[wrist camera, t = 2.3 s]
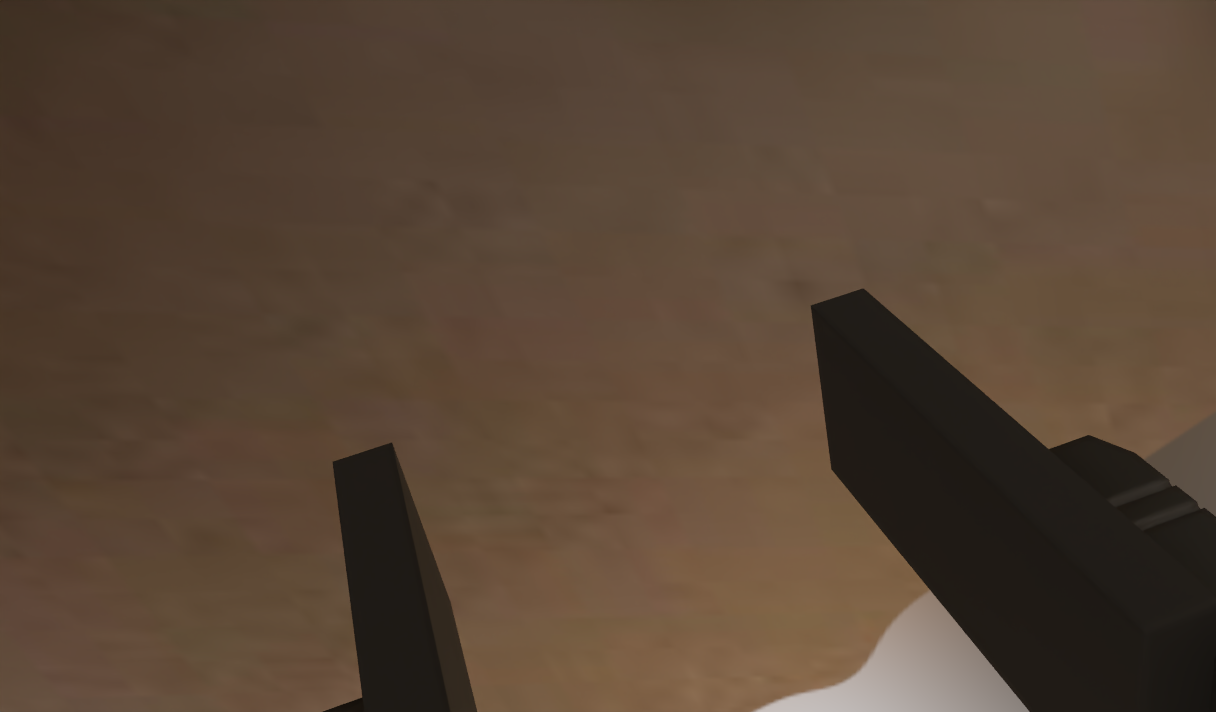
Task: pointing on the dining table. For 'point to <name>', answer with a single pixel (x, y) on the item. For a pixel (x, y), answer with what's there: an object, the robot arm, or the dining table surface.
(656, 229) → the dining table surface
